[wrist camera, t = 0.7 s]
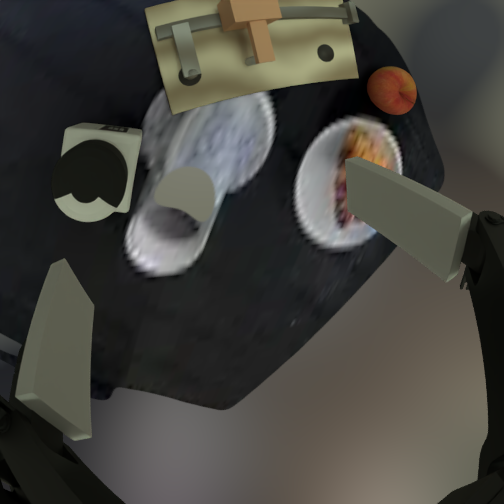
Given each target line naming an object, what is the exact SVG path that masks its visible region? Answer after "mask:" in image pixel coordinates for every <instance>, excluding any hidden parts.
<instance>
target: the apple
mask: <svg viewBox="0 0 504 504" xmlns="http://www.w3.org/2000/svg"><path fill="white" fill-rule="evenodd" d="M367 92H368V95H369V97H370V99H371V101H372V102H373V103H374V104H375V105H376V106H377V107H378V108H379V109H381V110H383V111H384V112H387V113H390V114H395V115H399V114H404V113H406V112H408V111H409V110H410V109H411V108H412V107H413V105H414V103H415V100H416V86H415V83H414V80H413V79H412V77H411V76H410V75H409V74H408V73H407V72H406V71H404V70H403V69H400V68H397V67H383V68H381V69H378V70H377V71H375V72H374V73H373V74H372V75H371V76H370V78H369V80H368V83H367Z"/></svg>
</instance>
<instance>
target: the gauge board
mask: <svg viewBox="0 0 504 504" xmlns="http://www.w3.org/2000/svg"><path fill="white" fill-rule="evenodd" d="M220 1H221V0H177V1H173V2H168V3H164V4H160V5H156V6H152V7H149V8H145V15H146V19H147V23H148V27H149V31H150V35H151V39H152V43H153V47H154V51H155V54H156V58H157V62H158V66H159V69H160V73H161V77H162V80H163V84H164V88H165V91H166V95H167V98H168V102H169V106H170V109H171V113H172V115H174V114H177V113H180V112H184V111H187V110H190V109H193V108H197V107H200V106H204V105H207V104H211V103H215V102H218V101H222V100H226V99H230V98H234V97H238V96H243V95H247V94H252V93H256V92H261V91H266V90H271V89H276V88H282V87H288V86H294V85H300V84H307V83H314V82H322V81H330V80H340V79H351V78H359V77H358V71H357V65H356V60H355V54H354V49H353V44H352V39H351V34H350V29H349V25H348V24H353V23H358V22H359V19H358V15H357V11H356V7H355V3H354V2H346V3H343V0H278V4H279V8H280V11H281V15H282V18H280V19H278V20H276V21H274V22H272V23H270V24H268V25H267V26H268V30H269V34H270V39H271V43H272V47H273V51H274V56H275V60H276V61H272V62H265V63H259V64H256V65H252V66H247V65H246V64H245V60H246V58H249V57H251V56H254V54H253V50H252V46H251V42H250V38H249V34H248V30H247V28H244V29H237V30H231V31H225V32H224V31H223V27H222V23H221V19H220V15H219V11H218V8H217V4H218V3H219V2H220Z"/></svg>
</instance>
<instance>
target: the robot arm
mask: <svg viewBox="0 0 504 504" xmlns="http://www.w3.org/2000/svg"><path fill="white" fill-rule="evenodd" d="M345 166H346V183H347V205H348V211H349V212H350V213H352V214H353V215H355V216H356V217H358V218H359V219H361V220H362V221H364V222H365V223H366V224H368V225H369V226H371V227H372V228H374V229H375V230H377V231H378V232H379V233H381V234H382V235H384V236H385V237H387V238H388V239H389V240H391V241H392V242H394V243H395V244H396V245H398V246H399V247H400V248H402V249H403V250H405V251H406V252H407V253H409V254H410V255H411V256H413V257H414V258H415V259H417V260H418V261H419V262H420V263H422V264H423V265H424V266H426V267H427V268H428V269H430V270H431V271H432V272H434V273H435V274H436V275H437V276H439V277H440V278H441V279H442V280H443V281H445V282H448V281H450V280H451V279H452V278H454V277H455V276H456V275H457V274H458V271H459V267H460V264H461V262H463V263H464V264H465V265H466V268H465V271H464V275H463V278H462V281H461V285H460V289H463V286H464V283H465V282H467V287H466V290H469V291H470V295H471V299H472V303H473V307H474V312H475V316H476V320H477V326H478V331H479V336H480V342H481V348H482V355H483V362H484V370H485V378H486V389H487V402H488V435H487V438H486V440H485V442H484V444H483V446H482V449H481V453H480V458H479V470H478V480H477V481H475V482H473V483H471V484H468V485H466V486H464V487H461V488H459V489H456V490H454V491H452V492H451V493H450V494H448V495H447V496H446V497H445V498H444V499H443V500H441V501H440V502H439V503H438V504H504V217H503V216H501V215H499V214H497V213H495V212H492V211H482V212H480V214H479V215H477V214H475V213H474V212H472V211H471V210H469V209H467V208H465V207H464V206H462V205H460V204H458V203H456V202H454V201H453V200H451V199H449V198H447V197H445V196H443V195H441V194H439V193H437V192H435V191H433V190H431V189H429V188H427V187H425V186H423V185H421V184H419V183H417V182H415V181H413V180H411V179H409V178H407V177H404V176H402V175H400V174H398V173H396V172H393V171H391V170H389V169H386V168H384V167H382V166H379V165H377V164H375V163H372V162H370V161H367V160H365V159H362V158H360V157H354V158H350V159H346V160H345ZM93 314H94V305H93V303H92V302H91V300H90V299H89V297H88V296H87V294H86V293H85V291H84V289H83V288H82V286H81V285H80V283H79V281H78V280H77V278H76V276H75V275H74V273H73V271H72V270H71V268H70V266H69V265H68V263H67V261H66V259H65V258H64V259H62V260H60V261H58V262H56V263H53V264H51V266H50V269H49V272H48V274H47V277H46V280H45V282H44V285H43V288H42V291H41V294H40V297H39V300H38V303H37V306H36V309H35V312H34V316H33V319H32V322H31V326H30V329H29V333H28V337H27V339H25V341H24V343H23V345H22V347H21V348H20V351H19V354H18V358H17V364H16V367H15V374H14V376H13V381H12V387H11V393H10V398H9V402H7V401H6V400H5V399H4V398H3V397H2V396H1V395H0V504H125V503H124V502H123V501H122V500H121V499H120V498H119V497H117V496H116V495H115V494H114V493H113V492H112V491H111V490H110V489H109V488H108V487H107V486H106V485H104V483H103V482H102V481H101V480H100V479H98V477H97V476H96V475H95V474H93V472H92V471H91V470H90V469H89V468H88V467H87V466H86V465H85V464H84V463H83V462H82V461H81V459H80V458H79V457H78V456H77V455H76V454H75V453H74V452H73V451H72V449H71V448H70V447H69V446H68V445H66V444H65V443H64V442H63V433H64V434H65V435H66V436H68V437H69V438H71V439H73V440H81V439H86V438H92V432H91V412H90V360H91V340H92V326H93ZM1 481H2V482H4V483H6V484H8V485H9V486H10V489H11V492H10V491H7V490H5V489H4V488H3V486H2V483H1Z"/></svg>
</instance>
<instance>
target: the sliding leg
mask: <svg viewBox="0 0 504 504" xmlns="http://www.w3.org/2000/svg"><path fill="white" fill-rule="evenodd" d="M217 8H218V11H219V15H220V19H221V23H222V27H223V31H224V32H225V31H231V30H237V29H244V28H247V30H248V34H249V38H250V42H251V46H252V50H253V54H254V56H251V57H249V58H246V60H245V64H246V65H247V66H252V65H256V64H259V63H265V62H272V61H276V60H275V56H274V51H273V47H272V43H271V39H270V34H269V30H268V26H267V25H268V24H270V23H272V22H274V21H276V20H278V19H280V18H282V15H281V11H280V8H279V4H278V0H221V1H220V2H219V3H218V4H217Z"/></svg>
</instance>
